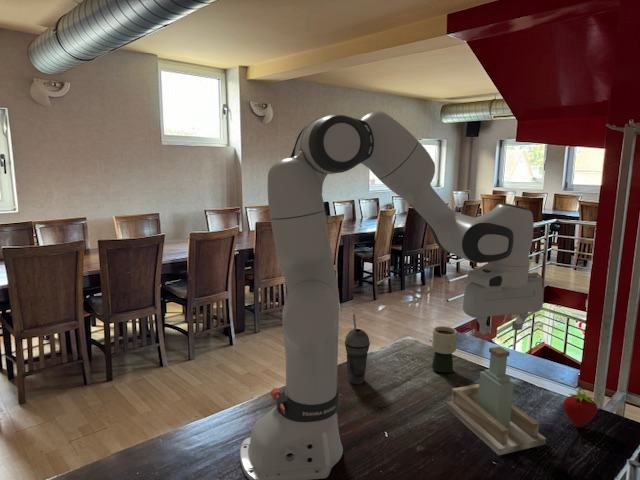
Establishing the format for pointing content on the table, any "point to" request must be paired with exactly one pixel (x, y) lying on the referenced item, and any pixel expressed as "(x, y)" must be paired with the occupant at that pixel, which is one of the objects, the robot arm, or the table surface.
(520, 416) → the u rest
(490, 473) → the table surface
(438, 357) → the character mug
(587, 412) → the strawberry
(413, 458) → the table surface
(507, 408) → the pale green flat bottle
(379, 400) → the table surface
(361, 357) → the beverage cup
